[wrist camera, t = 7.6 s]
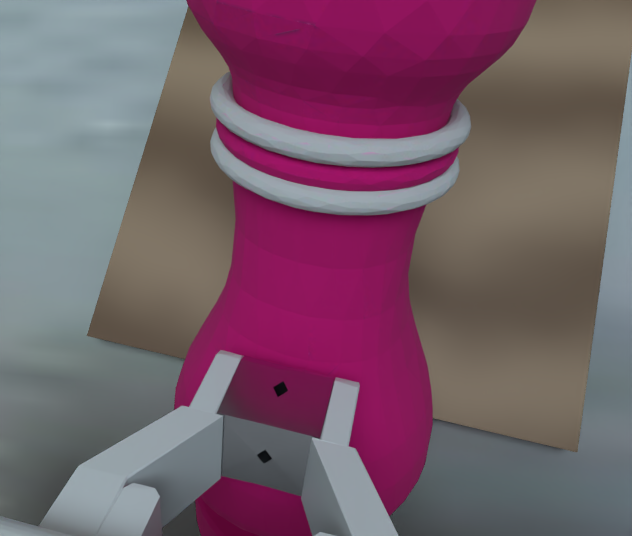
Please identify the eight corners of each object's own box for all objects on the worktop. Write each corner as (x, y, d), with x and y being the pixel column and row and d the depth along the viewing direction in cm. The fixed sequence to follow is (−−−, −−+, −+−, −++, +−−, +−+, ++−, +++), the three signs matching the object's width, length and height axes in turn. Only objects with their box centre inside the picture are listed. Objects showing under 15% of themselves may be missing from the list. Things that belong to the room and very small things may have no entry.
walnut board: (261, -191, 27) (257, -216, 26) (646, -140, 25) (661, -165, 24) (100, 338, 22) (87, 335, 21) (563, 448, 20) (577, 452, 19)
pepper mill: (135, 569, 16) (-73, -621, 5) (233, 392, 22) (244, -336, 11) (379, 656, 15) (886, -667, 4) (414, 444, 21) (649, -317, 9)
